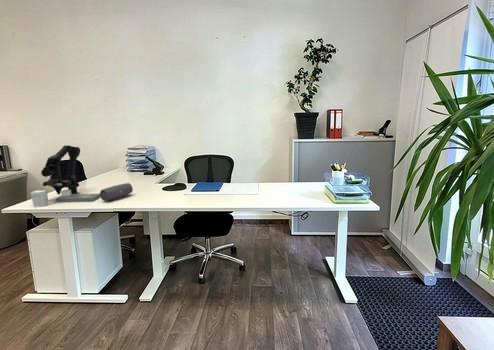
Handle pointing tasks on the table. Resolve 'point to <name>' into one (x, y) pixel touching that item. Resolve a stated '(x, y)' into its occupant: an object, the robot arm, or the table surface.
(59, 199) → the console
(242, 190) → the table surface
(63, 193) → the fader tab
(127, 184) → the bluetooth speaker
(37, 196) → the small box
